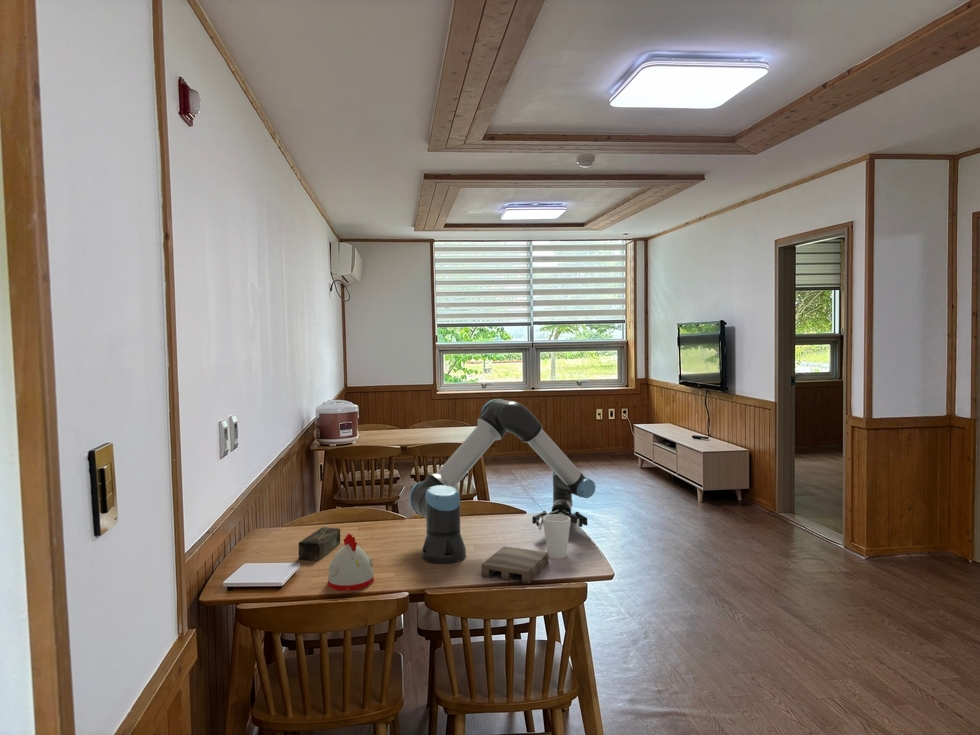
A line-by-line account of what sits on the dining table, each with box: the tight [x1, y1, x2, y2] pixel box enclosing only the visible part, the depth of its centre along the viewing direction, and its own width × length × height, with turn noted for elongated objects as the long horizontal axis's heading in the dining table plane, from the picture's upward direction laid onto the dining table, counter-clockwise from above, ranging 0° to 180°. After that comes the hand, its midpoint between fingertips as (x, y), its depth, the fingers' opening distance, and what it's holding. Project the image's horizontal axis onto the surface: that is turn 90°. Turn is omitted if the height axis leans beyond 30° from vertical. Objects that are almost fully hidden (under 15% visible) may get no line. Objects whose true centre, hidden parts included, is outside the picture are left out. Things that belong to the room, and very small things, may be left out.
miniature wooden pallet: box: [481, 546, 550, 585], centre depth 203 cm, size 18×16×4 cm
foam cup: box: [542, 514, 572, 560], centre depth 216 cm, size 10×9×13 cm
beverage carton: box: [298, 526, 341, 562], centre depth 225 cm, size 8×19×7 cm, turn 170°
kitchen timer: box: [327, 533, 375, 592], centre depth 195 cm, size 14×14×15 cm
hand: (558, 527), depth 225 cm, fingers open, 13 cm apart
